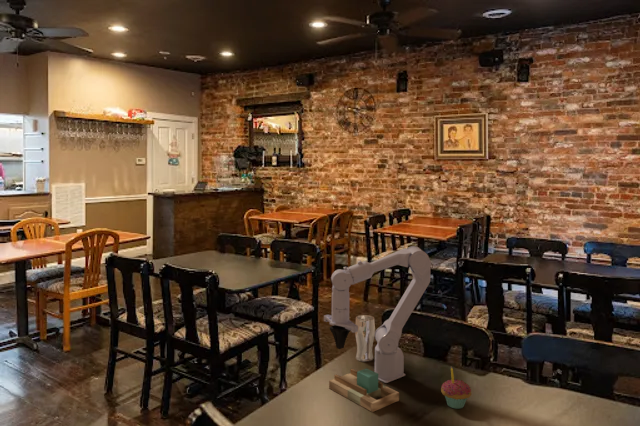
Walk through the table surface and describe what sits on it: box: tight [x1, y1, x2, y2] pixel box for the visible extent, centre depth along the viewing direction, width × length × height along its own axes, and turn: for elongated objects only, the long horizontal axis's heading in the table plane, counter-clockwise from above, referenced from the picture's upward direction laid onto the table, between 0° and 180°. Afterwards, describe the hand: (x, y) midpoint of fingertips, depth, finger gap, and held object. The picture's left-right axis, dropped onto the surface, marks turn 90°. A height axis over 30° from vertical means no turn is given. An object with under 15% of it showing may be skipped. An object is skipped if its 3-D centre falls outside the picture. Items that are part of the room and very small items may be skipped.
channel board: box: [328, 368, 400, 413], centre depth 154 cm, size 11×19×4 cm, turn 39°
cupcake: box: [440, 366, 472, 410], centre depth 148 cm, size 9×8×12 cm
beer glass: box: [354, 314, 376, 363], centre depth 181 cm, size 7×7×15 cm
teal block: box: [357, 368, 379, 394], centre depth 153 cm, size 4×5×5 cm
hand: (340, 347), depth 166 cm, fingers closed
